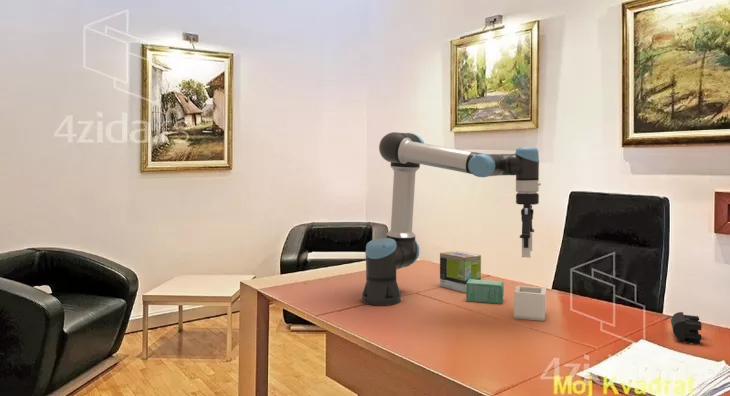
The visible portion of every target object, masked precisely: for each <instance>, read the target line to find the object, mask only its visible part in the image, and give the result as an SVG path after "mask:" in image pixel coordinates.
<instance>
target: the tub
mask: <svg viewBox="0 0 730 396" xmlns="http://www.w3.org/2000/svg"><path fill="white" fill-rule="evenodd" d="M546 315H547V287H543V286H542V287H541V286H528V285H527V286H526V285H516V286H515V289H514V291H513V319H516V320H517V319H519V320H527V321H529V320H530V321H539V322H545V321H546Z"/></svg>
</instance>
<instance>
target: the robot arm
mask: <svg viewBox="0 0 730 396" xmlns="http://www.w3.org/2000/svg"><path fill="white" fill-rule="evenodd" d="M378 146H379V147H378V148H379V149H378V150H379V155H380V156H381V157H382V159H383V160H385V161H386V162H388V163H390V166H389V167H390V168H391V169H392V171H393V183H392V184H393V185H392V199H391V200H392V202H391V203H392V204H391V219H390V220H391V221H390V230H388V232H386V237H380V238H375V239H372V240H370V241H369V242H366V245H365V254H364V255H365V274H366V275H365V276H366V277H365V278H366V279H365V280H366V281H365V284H364V288H363V291H362V294H361V302H362V303H364V302H365V303H364V304H366V303H368V304H367V305H370V304H372V305H371V306H391V305H392V304H393V305H396V303H397V304H400V303H401V302H402V294H401V291H400V287H399V283H398V281H397V270H400V269H402V268H408V267H410V266H411V265H413V264H414V263H415V262H416V261H417V260H418V258H419V256H420V246H419V244H418V242H417V240H416V234H415V233H414V232H413V216H414V201H415V185H416V172H417V171H418V170H419V169H420V167H421V165H423V166H429V167H433V168H438V169H442V170H443V169H444V170H449V171H454V172H460V173H464V174H469V175H473V176H475V177H477V178H488V177H499V176H515V192H516V193H515V203H516V205H521V206H522V205H523V207H522V209H521V210H520V215H521V234H520V235H519V239H521V258H527V259H528V258H529V259H530V258H531V252H533V233H535V229H533V218H534V208H533V206H535V205H539V203H540V201H539V200H540V194H539V193H538V192H539V189H540V186H541V182H539V181H540V180H539V179H540V177H539V176H540V174H539V173H540V171H539V170H540V168H539V167H540V159H539V158H540V157H539V150H538V148H537V147H517V148H515V149H516V150H515V153H500V154H499V153H489V154H488V153H482V152H475V151H469V150H465V149H459V148H453V147H446V146H441V145H434V144H429V143H425V142H424V140H423V139H422V138H421V136H419V135H417V134H415V133H412V132H396V131H395V132H389V133H387V134H385V135H384V136H383V137H382V138H381V140H380V142H379V144H378Z"/></svg>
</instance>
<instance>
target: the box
mask: <svg viewBox="0 0 730 396" xmlns="http://www.w3.org/2000/svg"><path fill="white" fill-rule="evenodd" d="M504 284H505V283H504V281H500V280H488V279H487V280H486V279H481V280H476V279H469V280H468V281H467V289H466V293H465V294H466V295H465V296H466V299H465V300H466V302H476V303H488V304H499V305H502V304H503V299H504V292H505V289H504V288H505V287H504V286H505V285H504Z"/></svg>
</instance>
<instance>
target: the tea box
mask: <svg viewBox="0 0 730 396" xmlns="http://www.w3.org/2000/svg"><path fill="white" fill-rule="evenodd" d="M469 279H476V280H482V255H481V254H476V253H472V252H471V253H469V252H464V251H458V250H453V251H446V252H445V251H444V252H440V253H439V287H441V288H446V289H450V290H454V291H457V292H460V293H465V294H466V289H467V281H468V280H469Z"/></svg>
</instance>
